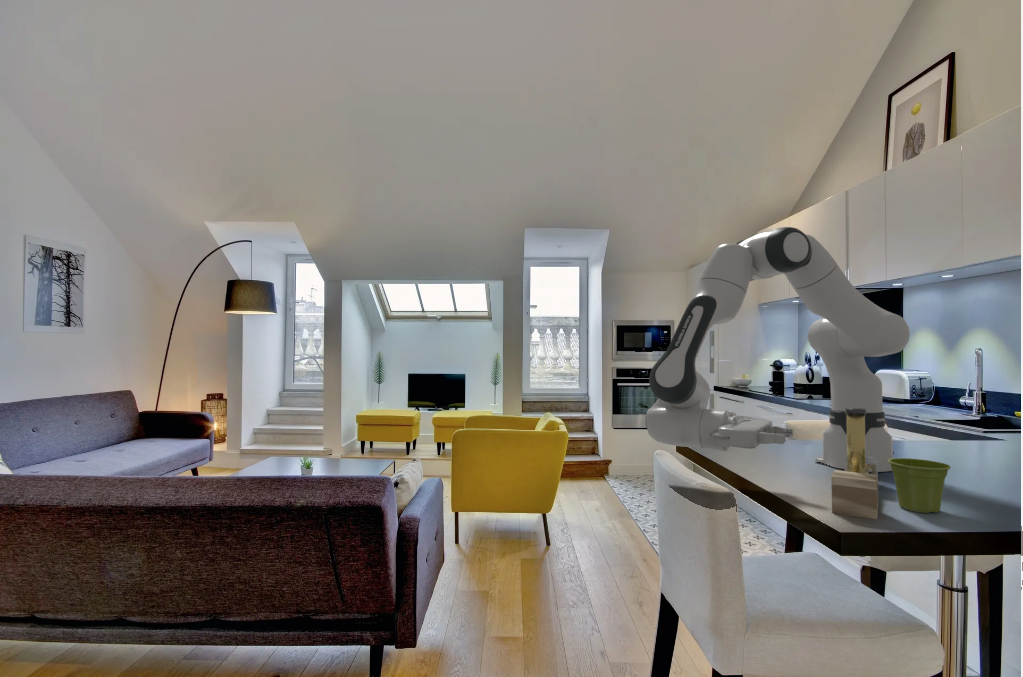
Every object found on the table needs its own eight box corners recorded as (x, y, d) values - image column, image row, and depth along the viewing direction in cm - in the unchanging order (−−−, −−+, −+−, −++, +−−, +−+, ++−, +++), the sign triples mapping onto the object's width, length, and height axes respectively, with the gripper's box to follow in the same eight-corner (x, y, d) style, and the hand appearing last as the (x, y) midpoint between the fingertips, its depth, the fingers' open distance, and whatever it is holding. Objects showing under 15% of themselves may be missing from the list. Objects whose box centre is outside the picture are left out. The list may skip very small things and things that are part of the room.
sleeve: (848, 480, 124) (847, 454, 124) (877, 483, 121) (877, 456, 121) (844, 489, 116) (844, 461, 116) (876, 493, 112) (875, 464, 112)
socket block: (835, 505, 105) (834, 470, 105) (878, 511, 101) (877, 474, 101) (831, 512, 100) (831, 476, 100) (877, 519, 96) (876, 481, 96)
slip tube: (851, 481, 117) (850, 402, 117) (870, 483, 115) (869, 403, 115) (844, 502, 101) (842, 411, 101) (865, 506, 99) (864, 412, 99)
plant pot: (891, 499, 108) (890, 455, 109) (951, 507, 103) (950, 461, 103) (886, 510, 101) (885, 463, 101) (951, 520, 95) (950, 470, 95)
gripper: (705, 420, 111) (780, 426, 103) (730, 411, 128) (796, 415, 120) (705, 451, 111) (780, 459, 103) (730, 438, 127) (796, 444, 119)
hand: (788, 436), depth 111 cm, fingers open, 8 cm apart
